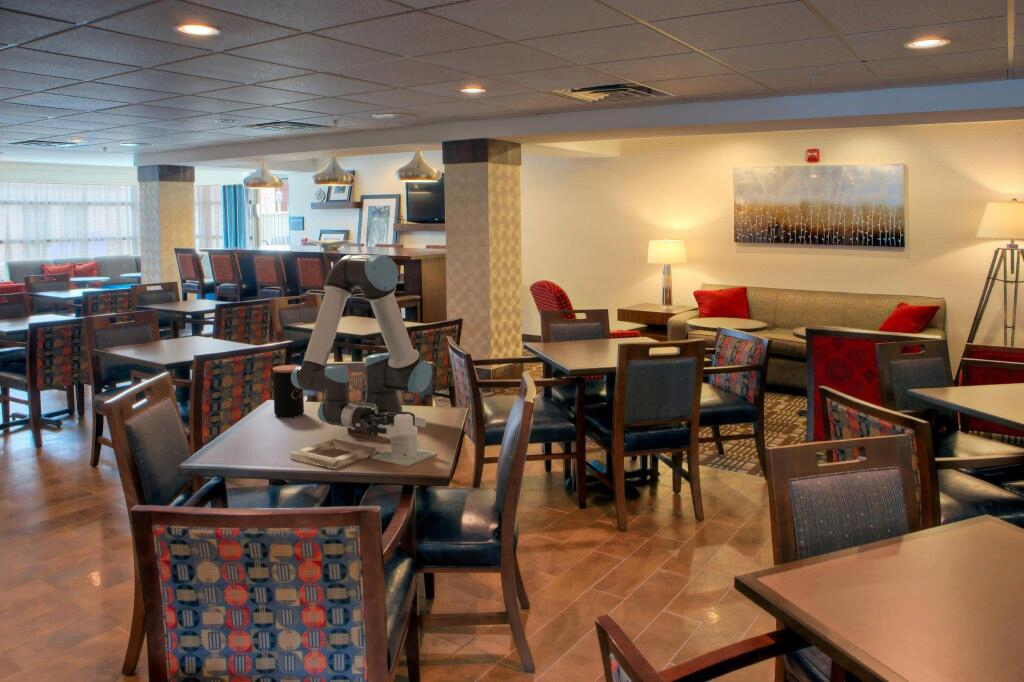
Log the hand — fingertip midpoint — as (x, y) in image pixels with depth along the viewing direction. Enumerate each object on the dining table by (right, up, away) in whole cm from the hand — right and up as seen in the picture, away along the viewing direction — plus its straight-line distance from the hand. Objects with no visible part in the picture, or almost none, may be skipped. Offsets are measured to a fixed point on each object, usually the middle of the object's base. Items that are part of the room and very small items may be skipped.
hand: (410, 427), depth 231 cm
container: (-2, -9, +3) cm, 9 cm away
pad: (-2, -9, +3) cm, 10 cm away
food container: (-20, -5, +29) cm, 35 cm away
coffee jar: (-52, -2, +53) cm, 75 cm away
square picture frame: (-24, -9, +2) cm, 26 cm away
